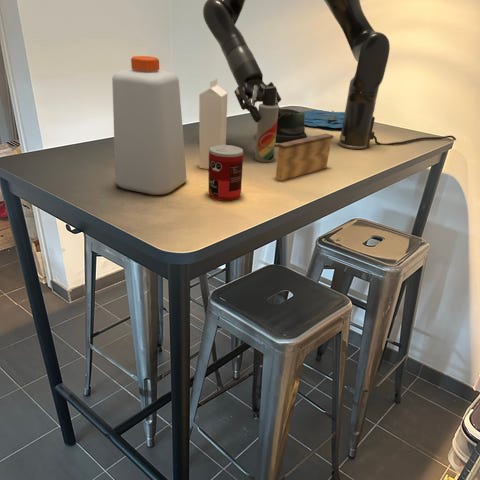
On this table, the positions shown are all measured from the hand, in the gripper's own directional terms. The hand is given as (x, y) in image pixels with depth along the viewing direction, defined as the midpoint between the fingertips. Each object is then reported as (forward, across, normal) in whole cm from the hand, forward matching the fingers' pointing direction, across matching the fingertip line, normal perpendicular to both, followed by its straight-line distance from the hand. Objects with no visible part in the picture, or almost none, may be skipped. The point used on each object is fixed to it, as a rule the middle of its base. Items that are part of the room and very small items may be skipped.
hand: (269, 119), depth 131 cm
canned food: (+19, -30, -2) cm, 35 cm away
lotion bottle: (+8, 0, +9) cm, 12 cm away
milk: (+5, -17, +12) cm, 22 cm away
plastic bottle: (+7, -40, +10) cm, 41 cm away
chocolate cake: (-1, +23, +18) cm, 29 cm away
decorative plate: (-8, +58, +24) cm, 64 cm away
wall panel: (+18, 0, -2) cm, 18 cm away
